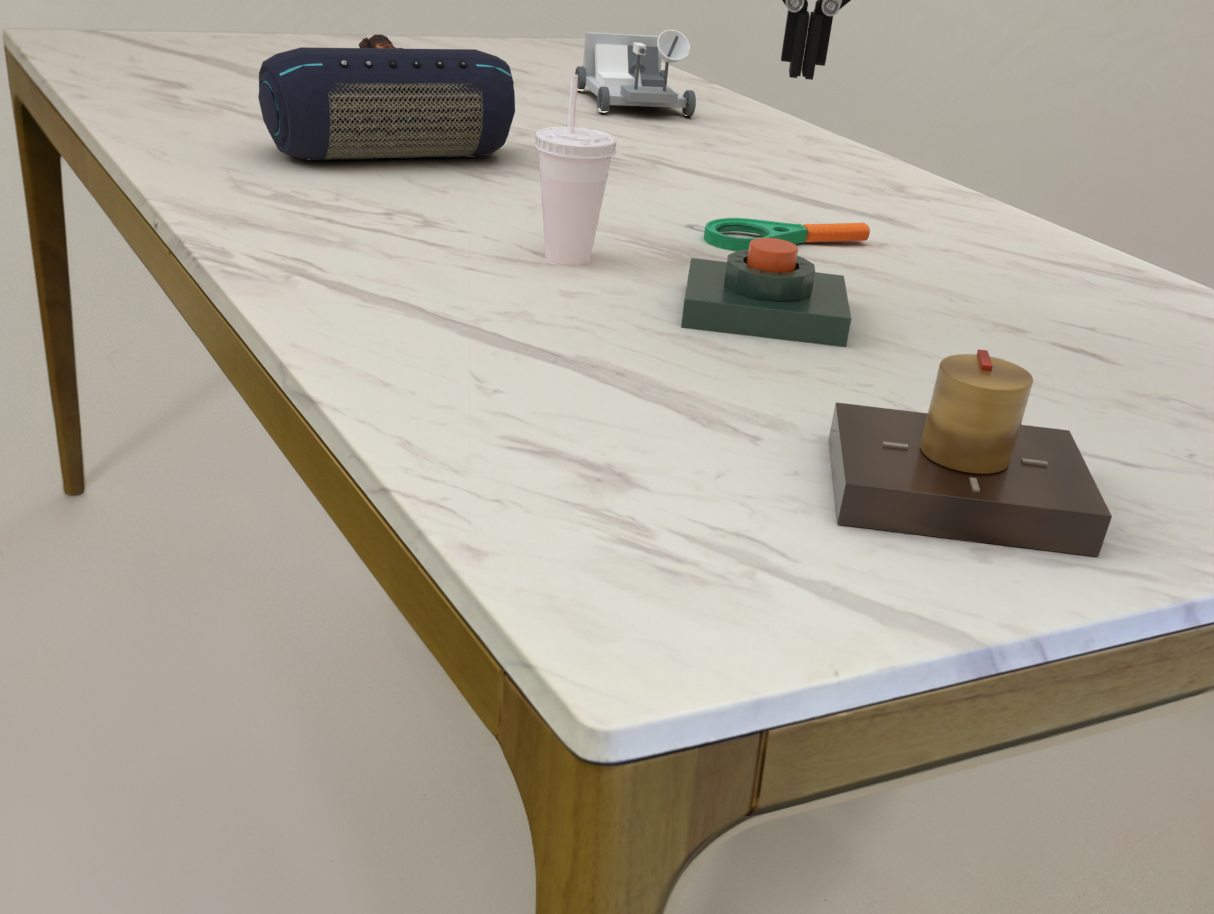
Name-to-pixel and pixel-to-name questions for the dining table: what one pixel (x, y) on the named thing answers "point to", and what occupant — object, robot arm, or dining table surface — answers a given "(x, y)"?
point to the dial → (976, 413)
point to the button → (772, 255)
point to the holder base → (963, 486)
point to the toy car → (634, 70)
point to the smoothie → (572, 185)
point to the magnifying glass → (780, 232)
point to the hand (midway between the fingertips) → (800, 74)
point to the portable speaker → (386, 102)
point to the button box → (767, 301)
